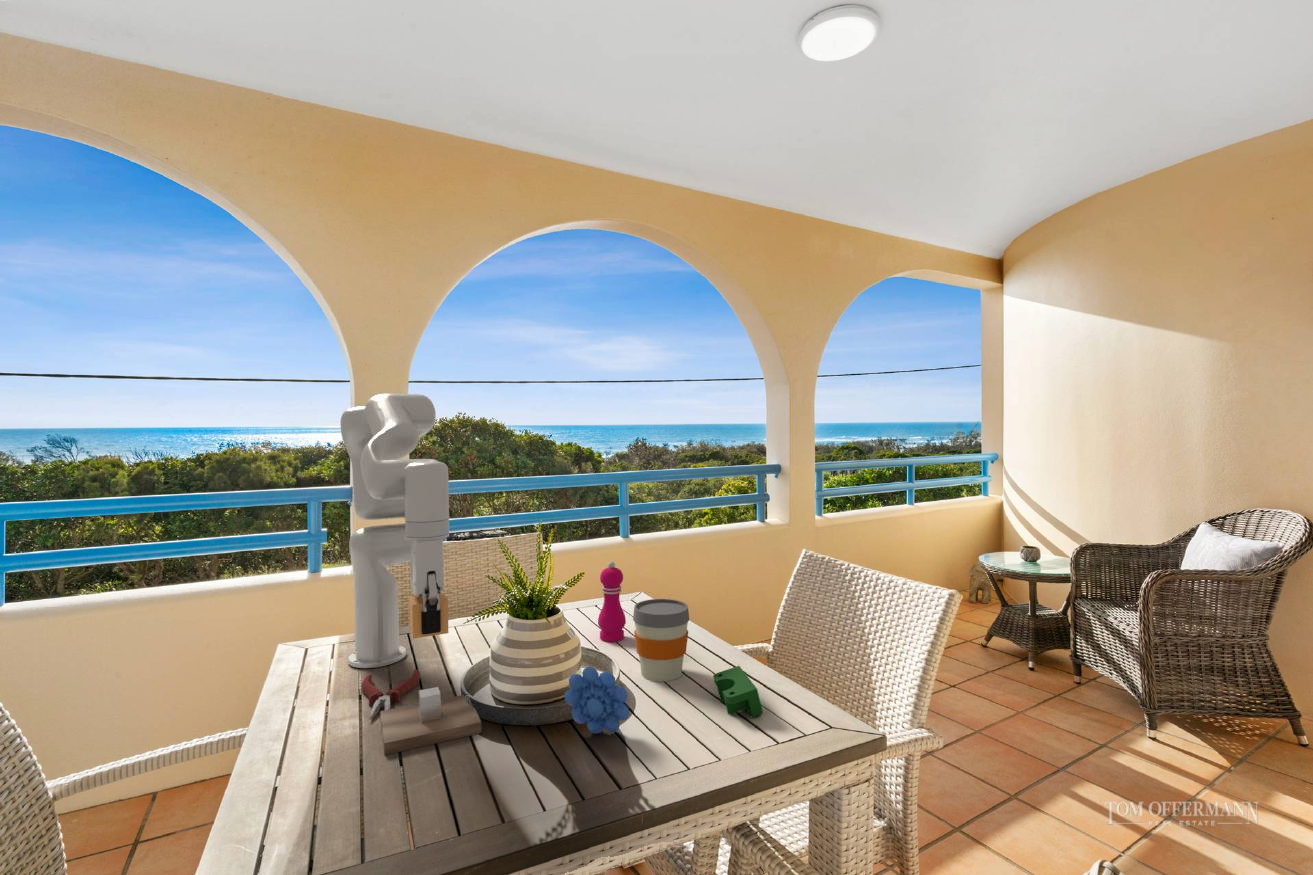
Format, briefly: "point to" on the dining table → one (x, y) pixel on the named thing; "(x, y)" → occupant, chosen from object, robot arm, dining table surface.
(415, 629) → the matte orange cube
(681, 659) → the reusable coffee cup
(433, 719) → the board
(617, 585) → the pepper mill
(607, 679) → the blue knobbed flower
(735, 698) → the clamp
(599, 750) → the dining table surface
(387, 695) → the pliers
